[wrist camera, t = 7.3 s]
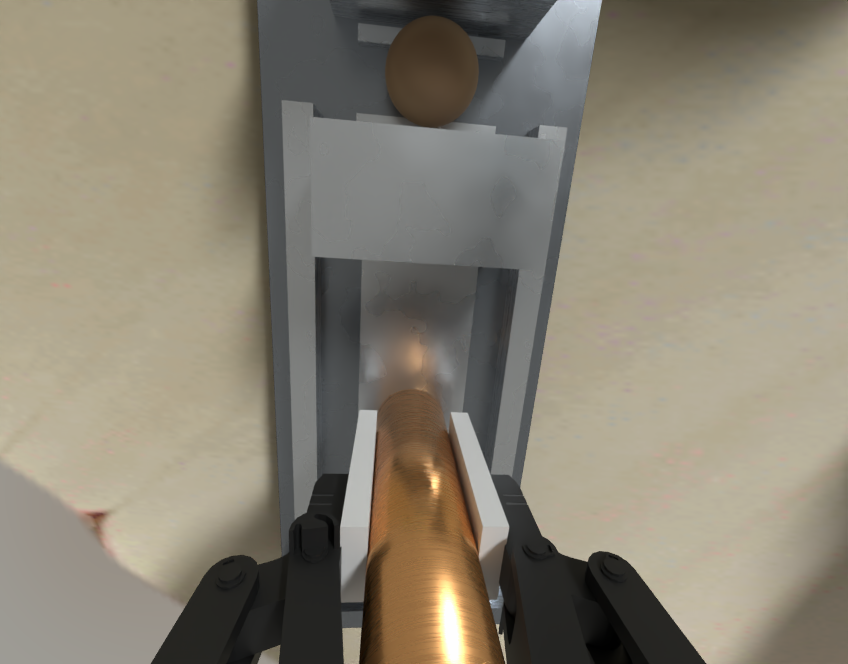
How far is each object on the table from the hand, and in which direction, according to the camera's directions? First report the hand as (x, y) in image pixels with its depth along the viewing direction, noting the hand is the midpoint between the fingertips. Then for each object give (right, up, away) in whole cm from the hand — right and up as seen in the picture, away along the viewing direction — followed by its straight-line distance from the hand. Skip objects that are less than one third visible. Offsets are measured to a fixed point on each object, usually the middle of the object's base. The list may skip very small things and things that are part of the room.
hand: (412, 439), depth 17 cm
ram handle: (0, +6, +2) cm, 6 cm away
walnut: (+1, +15, 0) cm, 15 cm away
